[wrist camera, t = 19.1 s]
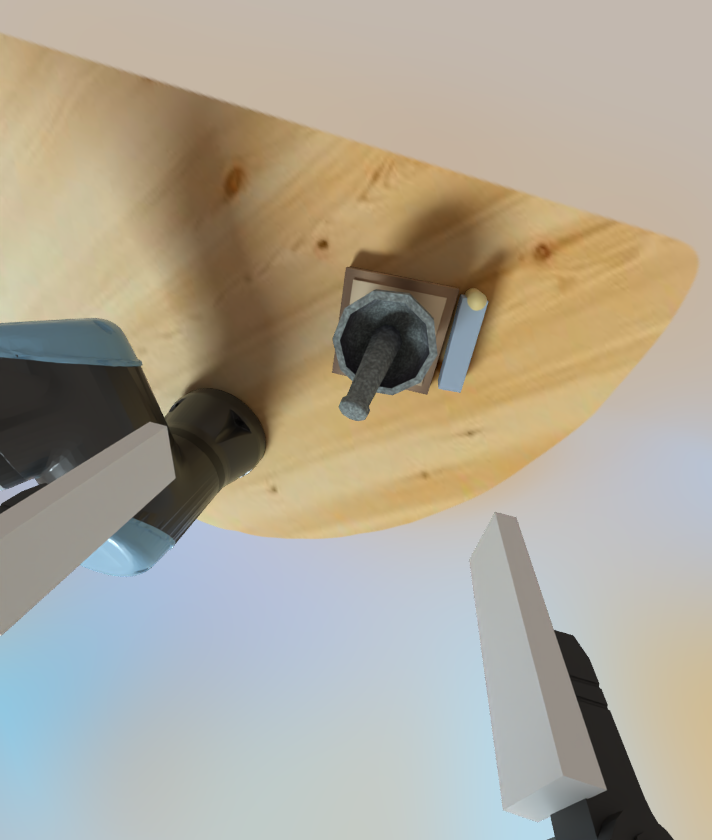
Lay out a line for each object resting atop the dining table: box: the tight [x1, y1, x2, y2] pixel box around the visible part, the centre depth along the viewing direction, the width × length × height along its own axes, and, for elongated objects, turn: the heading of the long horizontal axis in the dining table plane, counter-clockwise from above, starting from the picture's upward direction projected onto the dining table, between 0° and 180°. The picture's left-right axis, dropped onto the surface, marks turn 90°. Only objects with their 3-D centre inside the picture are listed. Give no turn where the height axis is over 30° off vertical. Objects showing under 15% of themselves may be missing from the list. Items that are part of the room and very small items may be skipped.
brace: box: [438, 288, 488, 393], centre depth 34 cm, size 11×2×4 cm, turn 173°
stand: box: [332, 267, 459, 394], centre depth 36 cm, size 12×12×2 cm
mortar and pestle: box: [333, 289, 438, 421], centre depth 30 cm, size 11×9×12 cm
